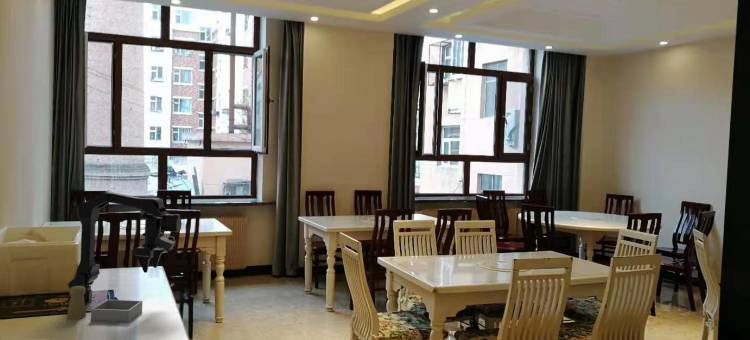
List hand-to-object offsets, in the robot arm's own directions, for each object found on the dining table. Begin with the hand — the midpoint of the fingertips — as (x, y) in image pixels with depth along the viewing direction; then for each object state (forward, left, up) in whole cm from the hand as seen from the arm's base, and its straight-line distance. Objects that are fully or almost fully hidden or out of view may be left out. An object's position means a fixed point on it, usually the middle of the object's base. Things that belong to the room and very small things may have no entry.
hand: (150, 270), depth 214 cm
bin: (-6, -15, -14) cm, 21 cm away
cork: (-20, -17, -14) cm, 30 cm away
